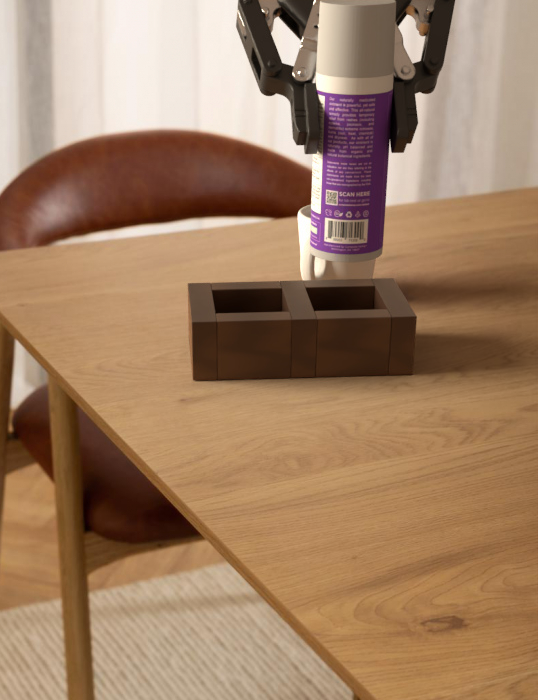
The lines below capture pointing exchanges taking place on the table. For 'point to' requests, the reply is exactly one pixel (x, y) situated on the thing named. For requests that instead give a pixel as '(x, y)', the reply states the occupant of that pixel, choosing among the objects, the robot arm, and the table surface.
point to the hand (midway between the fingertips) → (356, 145)
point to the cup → (323, 268)
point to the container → (352, 128)
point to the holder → (300, 329)
